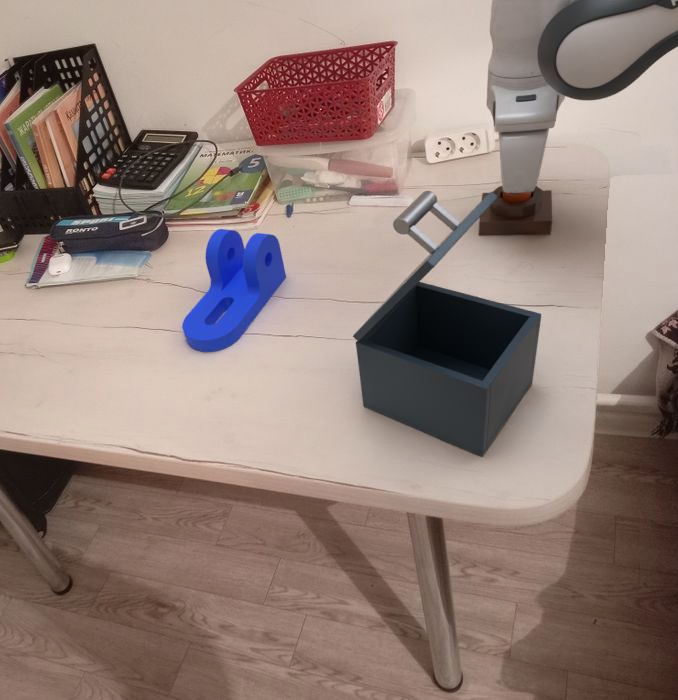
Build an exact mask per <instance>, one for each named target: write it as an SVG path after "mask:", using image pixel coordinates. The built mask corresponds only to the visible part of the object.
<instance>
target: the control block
mask: <svg viewBox="0 0 678 700" xmlns="http://www.w3.org/2000/svg"><path fill="white" fill-rule="evenodd" d="M492 192H493V193H494V194H495V195H496V196H497V199H496V200H495V201H494V202H493V203H492V204H491V205H490V206H489V207H488V209H487V210H486V211H485V212H484V213H483V214H482V215H481V216H480V217H479V219H478V220H479V221H478V236H528V235H529V236H530V235H531V236H533V235H537V236H538V235H541V236H542V235H551V234H552V226H553V197H552V196H553V194H552V190H551V189H550V190H549V189H545V190H543V189H541V187H539V186H538V185H536V187H535V189H534V190H533V191H532V192H531V198H530V199H529V200H527V201H524V202H514V203H512V202H508V201H504V200H503V199H502V193H503V187H502V185H500V186H498V187H497V188H495V189H494V190H493V191H492ZM489 193H490V192H482V194H481V201H482V200H483V199H484V198H485V197H486V196H487V195H488V194H489Z"/></svg>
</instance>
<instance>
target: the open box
mask: <svg viewBox="0 0 678 700" xmlns="http://www.w3.org/2000/svg"><path fill="white" fill-rule="evenodd" d="M541 321H542V313H540V312H536V311H532V310H528V309H525V308H522V307H517V306H514V305H509V304H506V303H503V302H498V301H496V300H495V301H494V300H491V299H486V298H483V297H479V296H476V295H471V294H467V293H464V292H461V291H458V290H457V291H456V290H453V289H449V288H446V287H441V286H438V285H434V284H430V283H426V282H422V281H419V282H418V283H417V284H416V285H415V286H414V287H413V288H412V289H411V290H410V291H409V292H408V293H407V294H406V295H405V296H404V297H403V298H402V299H401V300H400V301H399V302H398V303H397V304H396V305H395V306H394V307H393V308H392V309H391V310H390V311H389V312H388V313H387V314H386V315H385V316H384V317H383V318H382V319H381V320H380V321H379V322H378V323H377V324H376V325H375V326H374V327H373V328H372V329H370V330H369V331H368V332H367V333H366V334H365V335H364V336H363V337H362V338H361V339H360V340H359V341H357V340H356V341H355V347H356V356H357V364H358V372H359V373H358V374H359V380H360V382H359V383H360V389H361V390H360V391H361V397H362V405H363V407H364V408H366V409H368V410H371V411H373V412H375V413H377V414H380V415H382V416H385V417H387V418H390V419H392V420H394V421H397V422H399V423H401V424H404V425H406V426H408V427H411V428H413V429H415V430H417V431H420V432H422V433H425V434H427V435H429V436H432V437H434V438H436V439H439V440H441V441H443V442H445V443H448V444H450V445H453V446H455V447H458V448H460V449H461V450H464V451H467V452H469V453H472V454H474V455H476V456H478V457H480V458H484V456H485V454H487V452H488V450H489V448H490V447H491V445H492V444H493V443H494V441H495V440H496V438H497V437H498V435H499V434H500V432H501V431H502V430H503V428H504V427H505V425H506V423H507V422H508V420H509V419H510V417H511V416H512V415H513V413H514V412H515V411H516V408H517V407H518V406H519V404H520V403H521V401H522V400H523V398H524V397H525V395H526V394H527V392H528V391H529V389H530V388H531V386H532V385H533V381H534V372H535V367H536V359H537V352H538V343H539V336H540V330H541V329H540V328H541Z"/></svg>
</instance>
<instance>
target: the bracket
mask: <svg viewBox="0 0 678 700" xmlns="http://www.w3.org/2000/svg"><path fill="white" fill-rule="evenodd" d="M205 264H206V269H207V271H208V275H209V278H210V279H209V280H210V285H209V288H208V290H207V291H206V292H205V294H204V295H203V296H202V297H201V298H200V300H199V301H198V302H197V303H196V304H195V305H194V307H193V308H192V309H191V310H190V311H189V313H187V314H186V316H185V318H184V319H183V321H182V325H181V327H182V331H183V335H184V337H185V341H186V342H187V344H188V345H189V347H190V348H191V349H193V350H196V351H199V352H203V353H210V352H211V353H213V352H218V351H221V350H224V349H226V348H228V347H230V346H232V345H233V344H235V343H236V342H237V341H238V340H240V339H241V337H242V336H243V334H245V332H246V331H247V329H248V328H249V326H250V325H251V324H252V323H253V321H254V320H255V319H256V317H257V316H258V315H259V313H260V312H261V311H262V309H263V308H264V307H265V306H266V304H267V303H268V302H269V300H270V299H271V298H272V297H273V295H274V294H275V293H276V291H277V290H278V288H279V287H280V286H281V285H282V283H283V282H284V281H285V279H286V278H287V274H286V270H285V263H284V260H283V253H282V249H281V244H280V241H279V239H278V237H277V236H276V235H274V234H270V233H263V232H262V233H260V232H257V233H254V234H252V235H251V236H250V238H249V239H248V240H247V243H246V245H244V240H243V238H242V235H241V234H240V233H239V231H237V230H233V229H227V228H226V229H225V228H219V229H216V230H215V231H214V232H213V233H212V234H211V235H210V237H209V239H208V241H207V245H206V249H205Z"/></svg>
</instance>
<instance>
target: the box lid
mask: <svg viewBox="0 0 678 700" xmlns="http://www.w3.org/2000/svg"><path fill="white" fill-rule="evenodd" d="M488 193H489V194H488V195H487V196H486V197H485V198H484V199H483V200H482V199H481V201H480V202H479V203H478V204H477V205H476V206H475V207H474V208H473V209H472V210H471V211H470V212H468V213H469V214H467V215H466V216H465V218H463V219H462V221H459V219H457V218H456V217H455V216H453V215H452V214H451V213H450V212H449V211H447V209H445V208H444V207H443V206H441V204H439V203H438V197H437V195H436V194H435V193H434V192H433V191H431V190H425V191H423V192H422V193H421V194H419V196H417V197H416V198H415V200H414V201H412V203H410V204H409V205H408V206H407V207H406V208H405V209H404V210H403V211H402V212H400V214H399V215H398V216H397V217H396V218H395V219H394V220H393V222H392V226H393V229H394V231H395V232H396V233H398V234H399V235H408V236H409V237H410V239H412V240H413V241H415V243H417V245H419V246H420V247H422V249H424V250H425V251H426V252H428V253H429V255H427V256H426V257H425V258H424V259H423V261H422V262H421V263H419V264H418V266H416V268H415V269H414V270H413V271H412V272H411V273H410V274H409V275H408V276H407V277H405V279H404V280H403V281H402V282H401V283H400V284H399V285H398V287H397V288H396V289H394V291H393V292H392V293H391V294H390V295H389V296H388V297H387V299H386V300H385V301H384V302H383V303H382V304H381V305H380V306H379V307H378V308H377V309H376V311H374V313H372V314H371V315H370V317H369V318H368V319H367V320H366V321H365V322H364V323H363V324H362V325H361V326H360V327H359V328H358V330H357V331H356V332H355V333H354V334H353V335H352V337H353V338H354V339H355V340H356V342H357V341H359V340H360V339H361V338H362V337H363V336H364V335H365V334H366V333H367V332H368V331H369V330H370V329H372V328H373V327H374V326H375V325H376V324H377V323H378V322H379V321H380V320H381V319H382V318H383V317H384V316H385V315H386V314H387V313H388V312H389V311H390V310H391V309H392V308H393V307H394V306H395V305H396V304H397V303H398V302H399V301H400V300H401V299H402V298H403V297H404V296H405V295H406V294H407V293H408V292H409V291H410V290H411V289H412V288H413V287H414V286H415V285H416V284H417V283H418V282H421V281H422V280H423V279H424V278H425V277H426V276H427V275H428V274H429V273H430V272H431V271H432V270H433V269H434V268H435V267H436V266H437V264H439V262H440V261H441V260H442V259H443V258H445V256H446V255H447V254H448V252H450V251H451V250H452V248H453V247H454V246H455V245H456V244H457V242H459V240H460V239H461V238H462V237H463V236H464V235H465V234H466V233H467V232H468V231H469V230H470V229H471V227H472V226H473V225H474V224H475V223H476V222H477V221H478V220H479V219H480V216H481V215H482V214H483V213H484V212H485V211H486V210H487V209H488V207H489V206H490V205H491V204H492V203H493V202H494V201H495V200H496V199H497V196H496V195H495V194H494V193H493V191H489V192H488ZM429 212H430V213H431V214H433V215H434V216H435V217H436V218H437V219H438V220H439V221H441V223H443V224H444V225H445V226H446V227H447V228H449V229H450V230H451V232H450V233H449V234H448V235H447V236H446V237H445V238H444V239H443V240H442V241H440V243H439V244H437V243H435V242H434V241H433V240H432V239H431V238H430V237H428V236H427V235H426V234H425V233H424V232H423V231H421V230H420V229H419V228H418V227H417V226H416V225H417V224H418V223H419V222H420V221H421V220H422V219H423V218H424V217H425V216H426V215H427V214H428V213H429Z"/></svg>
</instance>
